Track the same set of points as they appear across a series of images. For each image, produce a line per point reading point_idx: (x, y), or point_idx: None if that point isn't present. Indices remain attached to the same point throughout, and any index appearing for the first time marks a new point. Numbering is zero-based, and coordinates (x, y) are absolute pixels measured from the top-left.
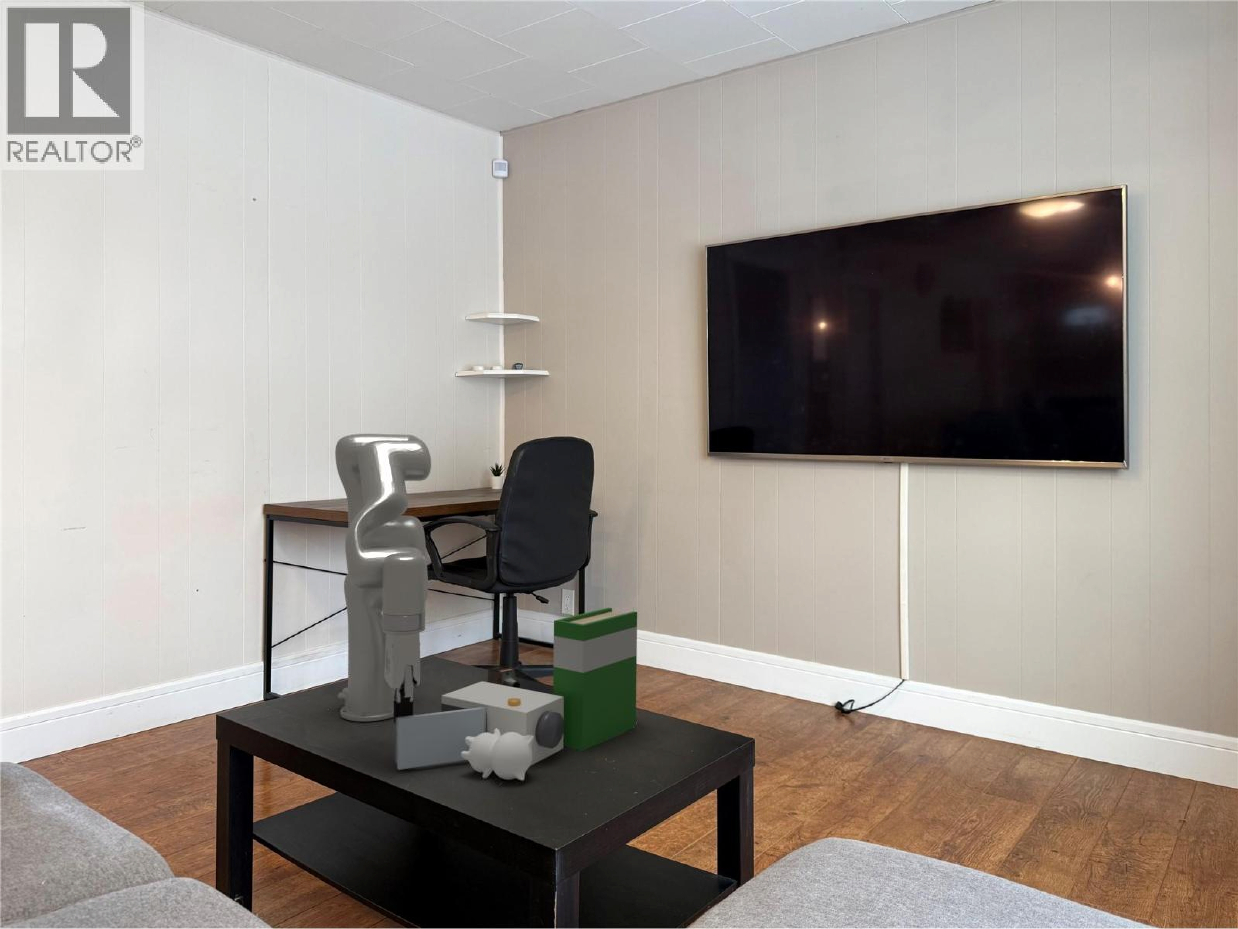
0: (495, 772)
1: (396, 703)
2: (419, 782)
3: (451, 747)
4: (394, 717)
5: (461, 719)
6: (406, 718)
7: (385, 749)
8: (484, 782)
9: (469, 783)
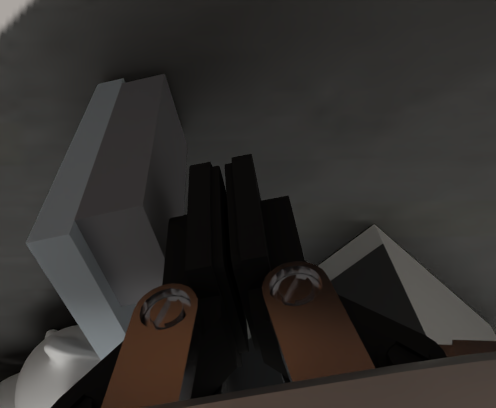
0: (7, 379)
1: (187, 277)
2: (3, 160)
3: None
4: (233, 178)
5: None
6: (51, 283)
7: (452, 4)
8: (18, 330)
9: (6, 299)
